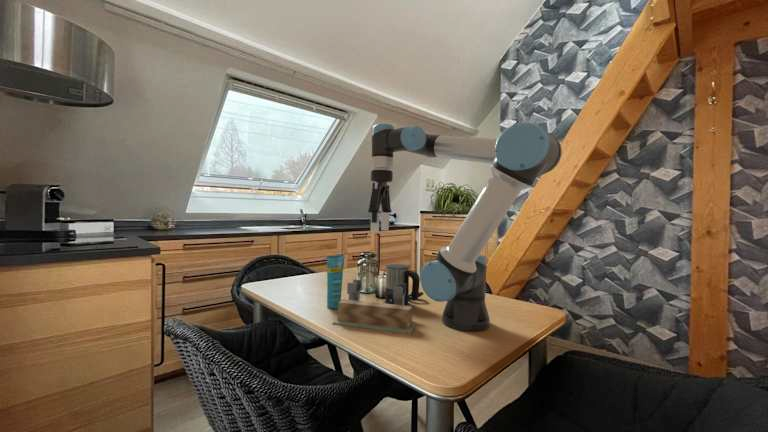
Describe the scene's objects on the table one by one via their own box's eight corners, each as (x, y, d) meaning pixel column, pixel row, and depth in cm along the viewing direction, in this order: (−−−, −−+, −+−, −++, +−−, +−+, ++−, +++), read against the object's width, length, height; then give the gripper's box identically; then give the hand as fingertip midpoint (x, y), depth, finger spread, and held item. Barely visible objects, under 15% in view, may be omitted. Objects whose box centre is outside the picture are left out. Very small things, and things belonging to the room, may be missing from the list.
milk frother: (381, 305, 128) (382, 266, 128) (391, 295, 143) (392, 260, 143) (418, 309, 124) (420, 269, 124) (424, 298, 140) (425, 262, 139)
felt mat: (415, 324, 108) (415, 323, 108) (411, 333, 100) (411, 332, 100) (341, 316, 114) (341, 314, 114) (332, 323, 106) (332, 322, 106)
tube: (329, 310, 120) (331, 256, 120) (321, 307, 123) (323, 254, 123) (346, 306, 125) (347, 254, 125) (338, 303, 129) (339, 253, 128)
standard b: (364, 310, 120) (365, 280, 120) (359, 316, 114) (360, 284, 114) (348, 309, 122) (349, 278, 122) (342, 314, 116) (343, 282, 115)
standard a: (409, 315, 117) (410, 284, 116) (405, 321, 110) (406, 288, 110) (392, 313, 118) (393, 282, 118) (387, 319, 112) (388, 286, 112)
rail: (411, 325, 106) (412, 306, 106) (409, 329, 102) (409, 309, 102) (342, 317, 112) (342, 299, 112) (337, 320, 108) (338, 302, 108)
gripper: (380, 173, 130) (378, 228, 130) (360, 165, 106) (358, 233, 106) (399, 174, 128) (397, 229, 129) (383, 165, 104) (381, 234, 104)
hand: (379, 231), depth 117 cm, fingers open, 13 cm apart
